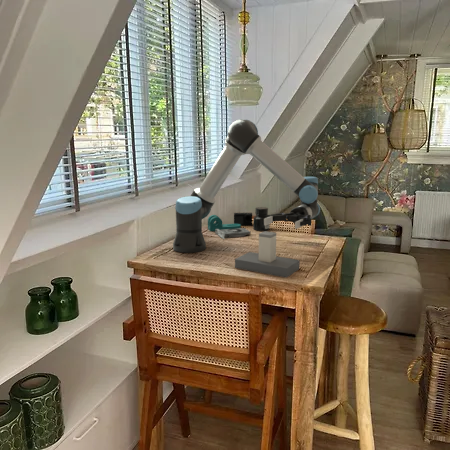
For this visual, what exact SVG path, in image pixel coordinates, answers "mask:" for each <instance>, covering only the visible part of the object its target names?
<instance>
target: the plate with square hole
mask: <svg viewBox="0 0 450 450" xmlns="http://www.w3.org/2000/svg"><path fill="white" fill-rule="evenodd" d="M258 257H259V252H252V251H248V252H246V253H244V254H242V255H240V256H238V257H236V258H235V259H234V268H235V269H238V270H244V271H250V272H255V273H261V274H265V275H270V276H276V277H281V278H286V279H287V278H289V277H290V276H291V275H293V274H294V273H296V272H298V271H299V270H300V265H301V263H300V262H301V261H300V259H296V258H288V257H283V256H277V255H276V260H274V261H272V262H271V263H270V262H264V261H259V260H258Z"/></svg>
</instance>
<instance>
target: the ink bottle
mask: <svg viewBox="0 0 450 450" xmlns="http://www.w3.org/2000/svg"><path fill="white" fill-rule="evenodd" d="M254 211H255V216H254V217H253V218H252V226H253V227H252V229H253V230H254V231H259V232H264V231H267V232H268V231H269V230H270V227H271V226H270V224H268V225H264V219H265V218H266V215H269V208H268V207H266V206H257V207H255V210H254Z"/></svg>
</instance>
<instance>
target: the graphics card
mask: <svg viewBox="0 0 450 450" xmlns="http://www.w3.org/2000/svg"><path fill="white" fill-rule="evenodd" d="M215 230H216V231H214V232H215V234H214V235H217V237H219V238H220V239H222V240H225V238H227V239H231V238H236V237H245V236H246V235H251V230H250V231H249V229H246V227H241V228H237V229H223V230H219V229H215Z"/></svg>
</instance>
